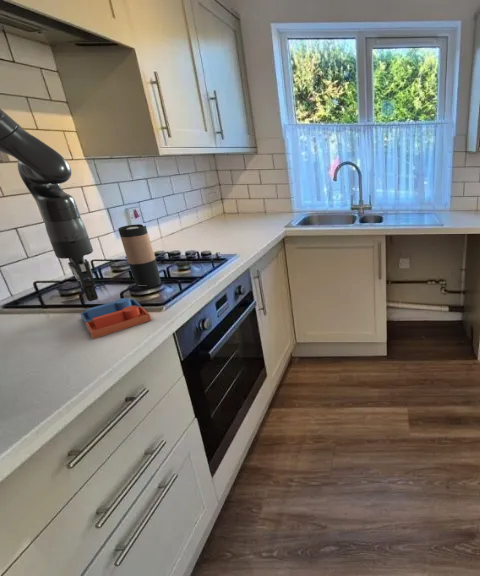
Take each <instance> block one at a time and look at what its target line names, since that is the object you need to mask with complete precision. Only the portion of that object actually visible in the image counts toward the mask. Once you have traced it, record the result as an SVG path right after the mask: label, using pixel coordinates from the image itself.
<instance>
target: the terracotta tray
mask: <svg viewBox="0 0 480 576" xmlns="http://www.w3.org/2000/svg"><path fill="white" fill-rule="evenodd" d="M138 309H139V312H140V315H141V316H140V317H137V318H133V319H130V320H127V321H123V322H120V323H117V324H114V325H110V326H107V327H104V328H101V329H96V327H95V324H94V322H93V321H89V322H86V325H85V327H86V326H87V327H86V328H87V330H88V332H89V333H90V335H91V337H92V339H97V338H100V337H103V336H106V335H110V334H113V333H116V332H120V331H123V330H126V329H128V328H132V327H135V326H137V325H141V324H143V323H148V322H150V321H152V318H151V315H150V313H149V312H148V311H147V310H146V309H145V308H144V307H143V306H142V305H141V307H138Z"/></svg>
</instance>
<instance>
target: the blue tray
mask: <svg viewBox="0 0 480 576" xmlns="http://www.w3.org/2000/svg"><path fill="white" fill-rule="evenodd" d="M129 299H130V298H129ZM130 302H131V305H132V306H137V307H141V306H142V305H141V304H140V302H138V301H137V300H136V299H135V298H131V299H130ZM80 317H81V319H82V321H83V323H84V325H85V327H86V328H87V326H86V322H89V321H93V319H91V320H90V319H89V316H88V313H87V311H83V312H80Z"/></svg>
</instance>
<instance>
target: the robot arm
mask: <svg viewBox="0 0 480 576" xmlns="http://www.w3.org/2000/svg"><path fill="white" fill-rule="evenodd" d="M0 153H2V154H6V155H9V156H11V157H13V158H14V159H16V160H17V171H18V175H19V177H20V178H21V181H22V183H23V184H24V185H25V186H26V187H25V188H26V189H27V190H28V191H29V193H30V194H31V196H32V197H33V199H34V200H35V201H36V204H37V205H38V208H39V212H40V215H41V216H42V220H43V221H44V226H45V232H46V234H47V236H48V239H49V243H50V244H51V247H52V250H53V253H54V255H55V257H56V258H58V259H62V260H63V259H64V260H67V259H68V261H69V262H67V265H68V267H69V269H70V271H71V274H72V275H73V276H74V278H75V279H76V281H77V282H78V285H79V288H80V291H81V293H84V294H85V297H86V300H87V301H88V302H93V301H96V300H98V299H99V296H98V293H97V290H96V288H95V287H96V282H95V280H94V274H93V271H92V269H91V263H90V261H89V260H88V259H85V258H84V257H85V256H88V255H90V254H93V252H94V249H93V246H92V243H91V239H90V237H89V233H88V231H87V228H86V225H85V223H84V221H83V220H82V217H81V214H80V211H79V208H78V204H77V203H76V200H75V199H74V197H73V196H72V195H71V194H69V193H67V192H65V191H64V190H63V188H62V185H61V184H65V183H66V182H68V181H69V180H70V179H71V176H72V169H71V166H70V164H69V163H68V160H67V159H65V157H64V156H63V155H61V153H59V152H58V151H57V150H55V149H54V148H52V147H51V146H50V145H48V144H46V143H45V142H43V141H42V140H40V139H39V138H38V137H36V136H35V135H33V134H31V133H29V132H28V131H26V130H25V129H24V128H23V127H22V126H21V125H20V124H19V123H18V122H16V121H15V120H14V119H13V118H12V117H11V116H9V114H7V113H6V112H5V111H4V110H3V109H2V108H0Z"/></svg>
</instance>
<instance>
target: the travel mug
mask: <svg viewBox="0 0 480 576" xmlns="http://www.w3.org/2000/svg"><path fill="white" fill-rule="evenodd" d="M117 230H118V233H119V236H120V240H121V243H122V246H123V249H124V253H125V256H126V261H127V263H128V266H129V269H130V271H131V274H132V277H133V279H134V282H135V285H136V284H139V285H147V286H138V285H136V287H137V286H138V287H139V288H138V287H137V288H138V289H141V290H142V289H144V290H145V289H151V288H154V287H158V286H159V285H161V284H162V280H161V279H162V278H161V275H160V272H159V268H158V263H157V259H156V256H155V252H154V249H153V245H152V243H151V239H150V235H149V233H148V229H147V225H143V224H140V223H138V224H136V223H135V224H128V225H124V226H120V227H118V228H117Z"/></svg>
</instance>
